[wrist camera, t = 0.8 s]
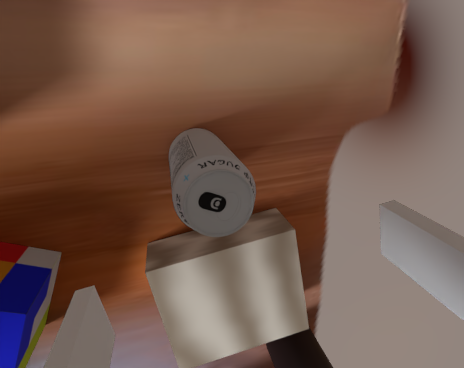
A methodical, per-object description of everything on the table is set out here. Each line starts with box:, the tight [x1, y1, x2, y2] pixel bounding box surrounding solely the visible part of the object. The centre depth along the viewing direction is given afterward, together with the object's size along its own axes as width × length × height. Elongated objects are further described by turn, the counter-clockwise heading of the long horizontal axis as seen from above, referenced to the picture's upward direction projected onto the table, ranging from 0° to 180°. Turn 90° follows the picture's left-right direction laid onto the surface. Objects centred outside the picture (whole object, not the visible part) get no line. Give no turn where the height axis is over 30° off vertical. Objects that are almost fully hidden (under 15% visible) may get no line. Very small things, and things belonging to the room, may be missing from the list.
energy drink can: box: [169, 128, 256, 237], centre depth 28 cm, size 6×6×15 cm
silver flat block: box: [145, 208, 309, 368], centre depth 38 cm, size 16×14×6 cm
